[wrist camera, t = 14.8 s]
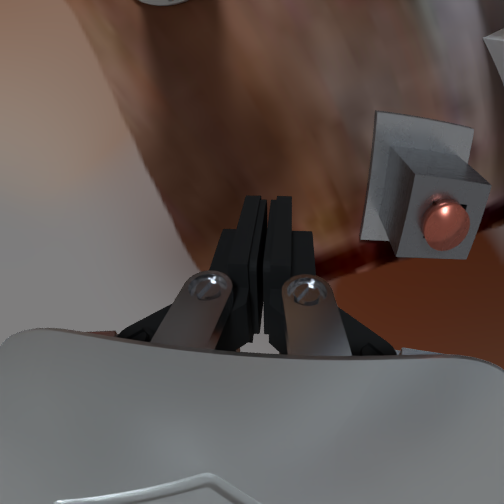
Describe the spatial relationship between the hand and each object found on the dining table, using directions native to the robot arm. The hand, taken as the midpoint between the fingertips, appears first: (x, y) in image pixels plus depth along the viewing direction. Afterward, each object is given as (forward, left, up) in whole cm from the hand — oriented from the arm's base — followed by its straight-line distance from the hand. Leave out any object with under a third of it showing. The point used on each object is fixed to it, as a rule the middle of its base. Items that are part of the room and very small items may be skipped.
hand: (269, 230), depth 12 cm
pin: (+9, +18, -25) cm, 32 cm away
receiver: (+9, +18, -27) cm, 34 cm away
